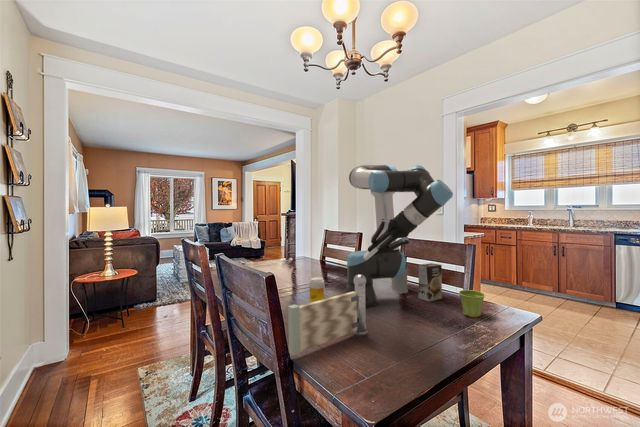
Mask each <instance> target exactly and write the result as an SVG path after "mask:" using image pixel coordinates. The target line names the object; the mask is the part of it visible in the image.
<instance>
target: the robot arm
mask: <svg viewBox="0 0 640 427" xmlns="http://www.w3.org/2000/svg"><path fill="white" fill-rule="evenodd" d="M348 180H349V183H350V184H351V186H352V187H353V188H355V189H359V190H370V194H371V195H372V196H373V197H374V206H375V207H374V212H375V223H376V226H375V227H376V230H375V232H374V234H372V237H371V239H370V240H371V241H370V242H371V244H370V245H369V246H368V247H367V250H357V251H353V252H351V253H348V255H347V257H346V258H347V260H346V269H347V273H346V274H347V286H346V290H345V292H344V294H345V293H349V292H353V291H354V292H355V284H354V277H355V276H356V275H358V274H361V275H363V276H365V278H366V284H365V305H366V308H370V307H374V306H375V305H377V304H378V297H377V294H376V290H375V288H374V280H378V279H380V280H381V279H391V278H397V277H401V276H402V275H403V273H404V271H405V268H406V262H407V260H406V256H405V254H404V253H403V252H402V251H401V249H400V247H401V246H403V245H408V244H409V243H410V240H409V238H408V237H409V234H410V233H412V232H413V231H414V230H416V228H417V227H418V226H421V224H423V223H424V222H425V221H426V220H427V219H429V218H430V217H431V216H432V215H433V214H434V213H436V212H437V211H438V210H440V209H441V208H442V207H443V206H445V205H446V204H447V203H448V202H449V201H450V200H451V199H452V198H453V196H454V194H453V191H452V190H451V189H450V187H449V186H448V185H447V184H446V183H445V182H443V181H442V180H441V179H435V180H434V178H433V177H432V176H431V174H430V172H429V171H428V170H427V169H426V168H425V167H424V166H422V165H421V164H420V165H419V164H416V165H414V166H411V167H409V168H408V169H407V170H398V169H397V168H396V167H395V165H390V164H379V165H377V164H372V165H371V164H370V165H369V164H363V165H360V166H356V167H354V168H353V169H352V170H351V171H350V172H349V175H348ZM395 193H414V194H415V196H416V197H415V198H414V199H413V200H412V201H411V202H410V203H409V204H408V205H406V206H405V207H404V208H403V210H401V211H400V212H399V213H398V214H397V215H396V216H395V212H394V210H395V209H394V196H393V195H394V194H395Z"/></svg>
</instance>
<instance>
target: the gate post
mask: <svg viewBox="0 0 640 427" xmlns="http://www.w3.org/2000/svg"><path fill="white" fill-rule="evenodd" d="M354 284H355V292H357V295H358V300H357V321H358V322H359V326H358V327H357V330H356V331H353V334H354V335H356V336H358V335H359V337H360V336H361V337H363V336H366V335H368V329H367V323H366V321H367V319H366V318H367V317H366V316H367V315H366V314H367V313H366V308H367V307H366V305H365V284H366V278H365V276H363V275H361V274H358V275H356V276H355V277H354Z"/></svg>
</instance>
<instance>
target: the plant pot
mask: <svg viewBox="0 0 640 427" xmlns="http://www.w3.org/2000/svg"><path fill="white" fill-rule="evenodd" d="M458 294H459V297H460V299H461V306H462V313H463V315H465V316H469V317H471V318H478V317H481V314H482V308H483V302H484V299H485V297H486V294H485V293H484V292H482V291H478V290H472V289H462V290H459V291H458Z"/></svg>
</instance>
